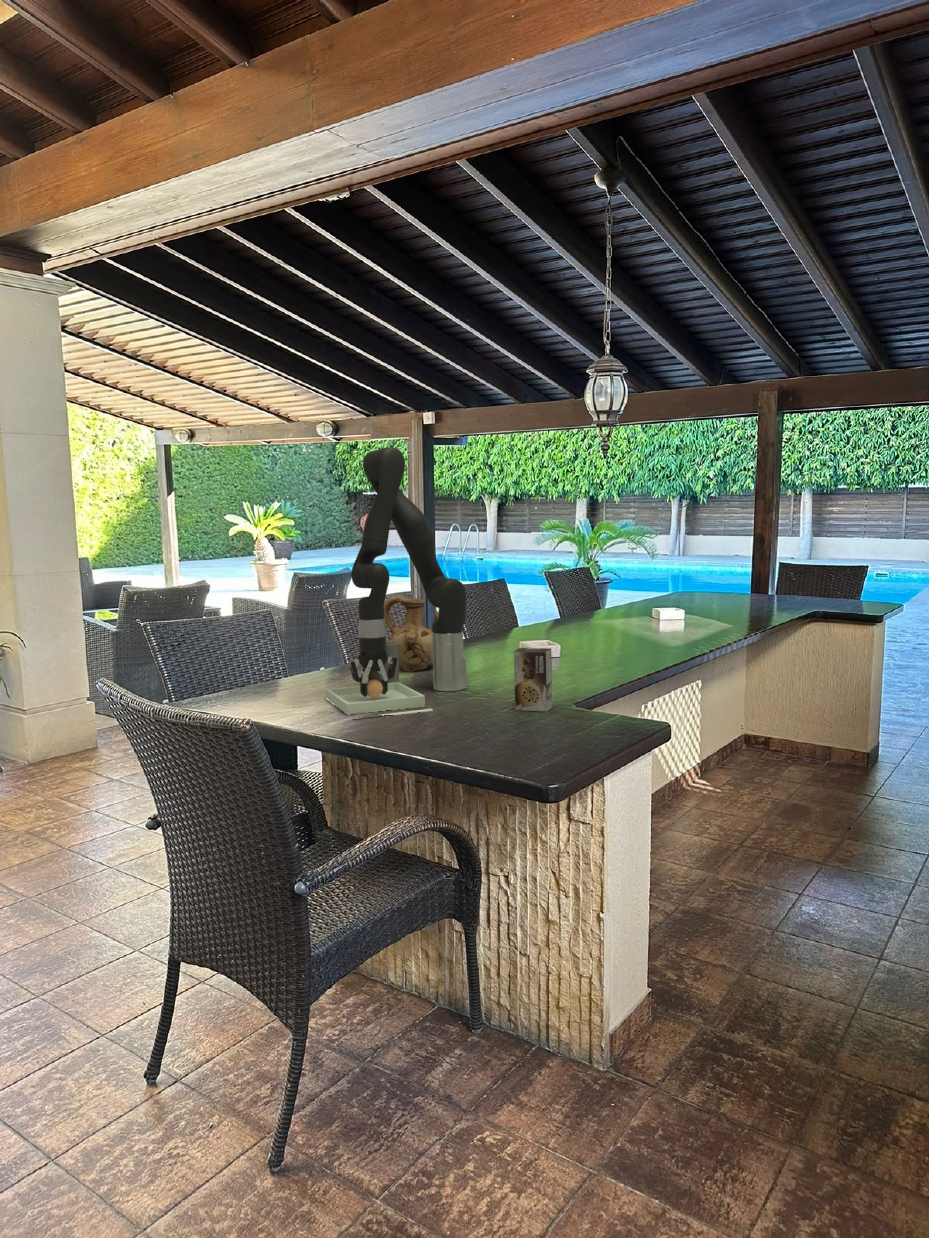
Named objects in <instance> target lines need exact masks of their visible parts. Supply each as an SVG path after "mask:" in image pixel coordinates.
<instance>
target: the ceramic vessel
mask: <svg viewBox="0 0 929 1238" xmlns="http://www.w3.org/2000/svg"><path fill="white" fill-rule="evenodd" d="M397 603H398V604H401V605H403V606H404V608H405V610H406V612H405V613H406V614H405V618H404V621H403V626H401V627H400V626H397V625H396V624H394V622H393V620H392V619H391V616H390V615H391V614H390V609H391V607H393V605H395V604H397ZM424 606H425V600H424V599H421V598H415V597H414V598H407V597H405V596H403V595H395V596H392V597H389V598H388V599H387V600H385V601H384V620H385V626H386V627H387V628H388V629H389V631H391V635H390V639H389V640H393V641H397V642H399V662H400V663H401V665H402V666H401V667H402V668H401V669H402V670H403V671H406V672H407V671H408V672H414V671H415V672H416V671H417V672H418V671H422V670H425V669H427V667H428V662H429V661H433V646H432V627H431V628H427V627H426V626H425V624H424V620H423V612H424ZM432 610H433V613H434V614H433V615H434V617H433V619H434V621H433V622H435V621H436V620H437V619H438V616H439V610H437V609H436V607H434V608H433V609H432Z"/></svg>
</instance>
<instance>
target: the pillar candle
mask: <svg viewBox="0 0 929 1238" xmlns="http://www.w3.org/2000/svg"><path fill="white" fill-rule="evenodd" d="M386 653H387V655H388V656H389V657H392V656H393V657H396V658H397V664H396V669H395V674H394V678H391V679H389V680H388V683H393V682H399V683H400V661H399V642H397V641H393V640H390V639H389V640H388V639H386ZM384 668H385V671H386V674H387V673H388V668H389V663H388V660H387V661H386V663H385V665H384ZM367 680H368V681H370V680H378V681H380V682H381V680H382V679H381V676H380V674H379V672H378V671H372V672H369V675H368V677H367ZM368 681H367V682H368Z"/></svg>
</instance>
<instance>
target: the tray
mask: <svg viewBox="0 0 929 1238" xmlns="http://www.w3.org/2000/svg"><path fill="white" fill-rule="evenodd" d="M324 691H325V699H326V698H328V699H329V700H330V701H331V702H333V703H334V704H335V705H337V706H338V707H339V708H341V709H342V710H343V711H344V712H346V713H347V714H348V713H355V712H356V713H357V712H374V713H379V712H378V711H383V712H387V711H386V710H392V711H399V710H398V709H400V710H407V709H406V708H409V709H417V708H424V707H426V695H424V694H422V693H420V692H418V691H416V690H414V689H412V688H410V687H409V686H407V685H405V684H403V683H401V682H400V681H399V682H393V683H388V691H387V692H386V694H384V695H383V694H382V693H381V695H380V696H378V697H370V696H368V695H367V696H366V697H364V696H363V695H362V694H361V693H360V685H357V686H355V685H354V686H344V687H336V688H325V690H324Z"/></svg>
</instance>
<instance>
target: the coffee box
mask: <svg viewBox="0 0 929 1238" xmlns="http://www.w3.org/2000/svg"><path fill="white" fill-rule="evenodd" d="M552 662H553V661H552V648H549V647H548V648H543V647H519V648H517V649H516V650H515V651H513V668H514V669H513V670H514V672H513V673H514V674H513V675H514V711H529V712H546V713H547V712H549V711H550V710H551V709H552V708H553V682H552V681H553V677H552V676H553V675H552V674H553V672H552V671H553V666H552Z"/></svg>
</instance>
